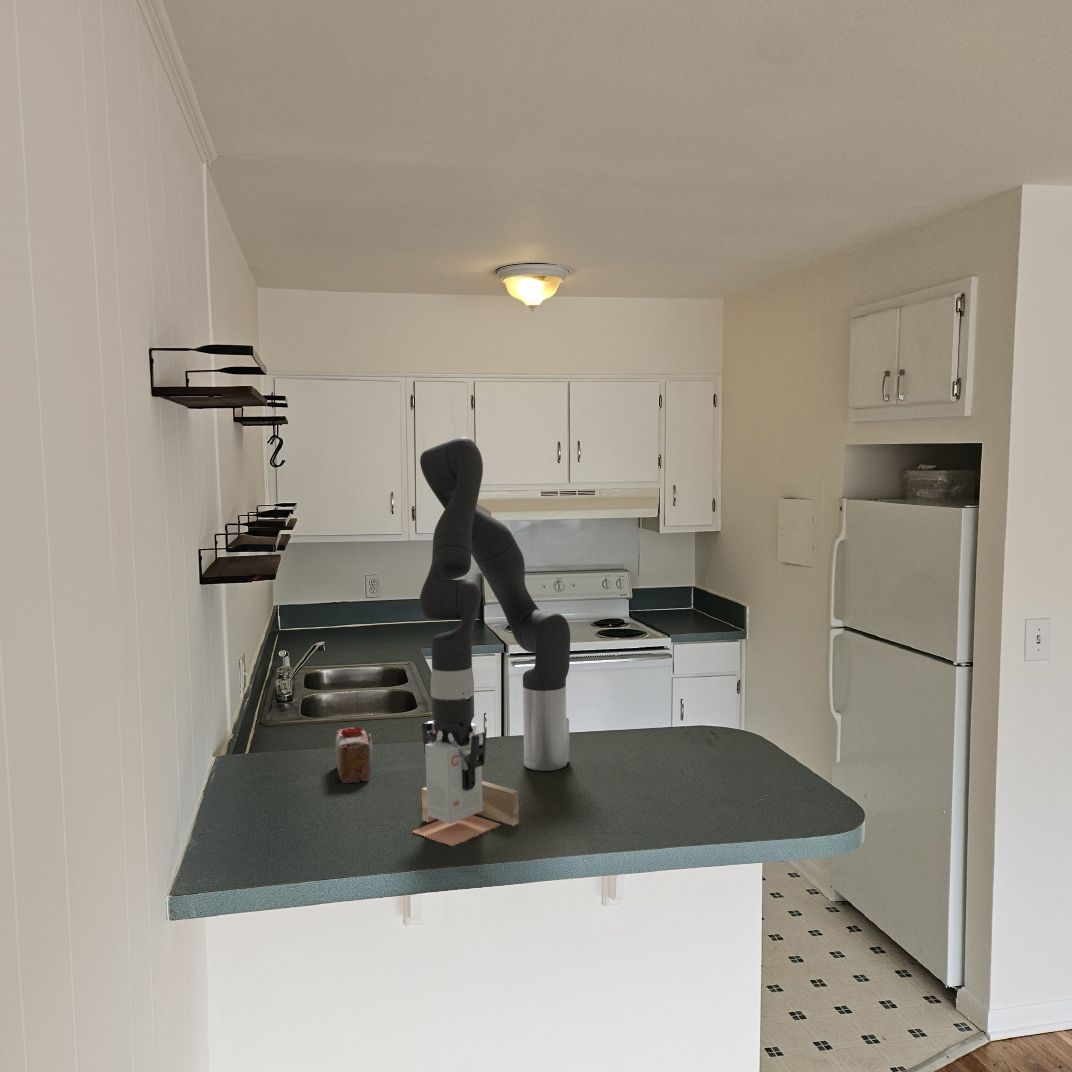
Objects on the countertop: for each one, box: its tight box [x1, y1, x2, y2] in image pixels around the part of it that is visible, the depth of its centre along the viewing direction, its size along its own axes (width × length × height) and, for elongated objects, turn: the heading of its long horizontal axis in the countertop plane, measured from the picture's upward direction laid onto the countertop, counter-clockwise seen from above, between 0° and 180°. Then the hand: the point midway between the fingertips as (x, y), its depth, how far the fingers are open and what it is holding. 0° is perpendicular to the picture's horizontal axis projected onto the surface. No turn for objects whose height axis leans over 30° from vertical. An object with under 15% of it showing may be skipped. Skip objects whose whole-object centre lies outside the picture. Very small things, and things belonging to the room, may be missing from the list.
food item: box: [334, 726, 374, 784], centre depth 197 cm, size 14×8×10 cm, turn 16°
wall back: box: [475, 780, 520, 827], centre depth 171 cm, size 2×14×6 cm, turn 50°
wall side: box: [421, 786, 437, 823], centre depth 172 cm, size 9×2×6 cm, turn 140°
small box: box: [424, 741, 483, 824], centre depth 165 cm, size 8×6×13 cm
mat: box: [411, 814, 501, 847], centre depth 165 cm, size 12×10×1 cm
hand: (454, 784), depth 165 cm, fingers closed on small box, 6 cm apart
